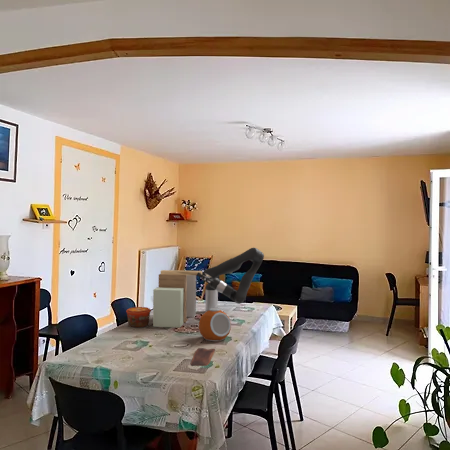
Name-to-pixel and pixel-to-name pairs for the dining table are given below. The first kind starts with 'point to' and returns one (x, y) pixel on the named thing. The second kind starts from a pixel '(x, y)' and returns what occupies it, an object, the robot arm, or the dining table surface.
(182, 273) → the oak strip
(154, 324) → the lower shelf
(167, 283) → the tall wooden block
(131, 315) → the food container
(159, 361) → the dining table surface
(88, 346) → the dining table surface
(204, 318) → the alarm clock
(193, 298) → the grey tall block
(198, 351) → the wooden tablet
